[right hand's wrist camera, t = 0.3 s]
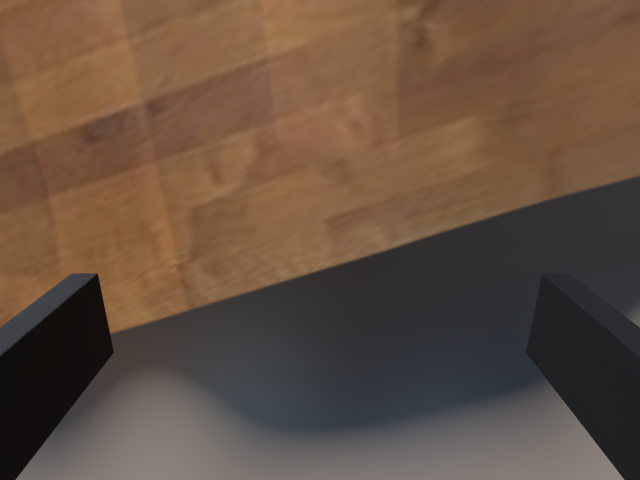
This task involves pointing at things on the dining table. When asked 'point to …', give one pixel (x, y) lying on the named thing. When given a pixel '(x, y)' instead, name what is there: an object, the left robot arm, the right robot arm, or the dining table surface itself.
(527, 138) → the dining table surface
